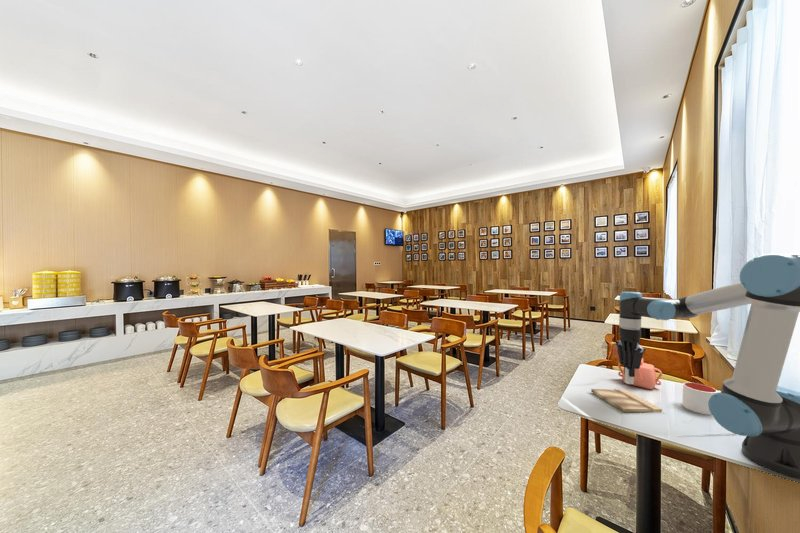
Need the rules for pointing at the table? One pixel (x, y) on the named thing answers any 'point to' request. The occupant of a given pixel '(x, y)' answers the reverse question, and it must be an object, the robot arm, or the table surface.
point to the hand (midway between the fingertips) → (629, 383)
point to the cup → (697, 397)
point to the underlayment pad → (654, 408)
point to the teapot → (644, 376)
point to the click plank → (621, 400)
